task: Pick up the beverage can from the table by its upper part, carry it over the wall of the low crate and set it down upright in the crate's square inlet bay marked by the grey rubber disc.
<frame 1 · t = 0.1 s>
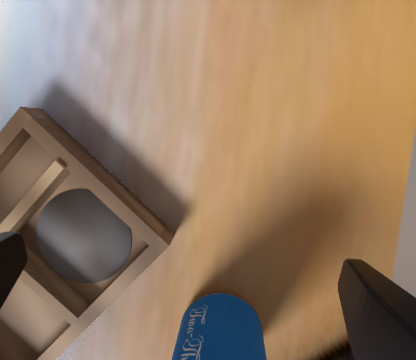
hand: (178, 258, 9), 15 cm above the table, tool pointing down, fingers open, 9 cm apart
beverage can: (221, 323, 26), on the table
crate: (39, 249, 26), on the table
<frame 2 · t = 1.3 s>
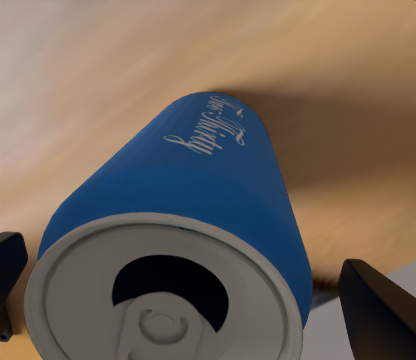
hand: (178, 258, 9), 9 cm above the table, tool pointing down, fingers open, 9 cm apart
beverage can: (210, 149, 17), on the table
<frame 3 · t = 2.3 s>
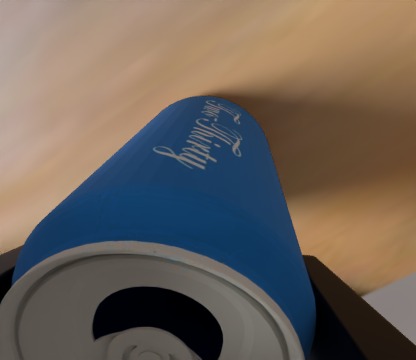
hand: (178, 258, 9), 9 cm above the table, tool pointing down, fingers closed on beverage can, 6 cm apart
beverage can: (206, 155, 17), on the table, touching gripper
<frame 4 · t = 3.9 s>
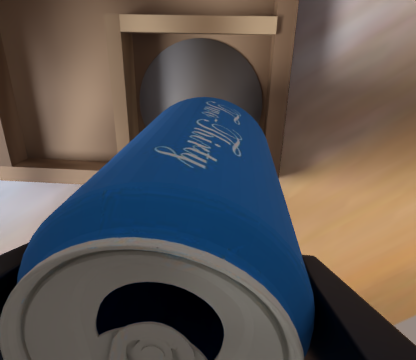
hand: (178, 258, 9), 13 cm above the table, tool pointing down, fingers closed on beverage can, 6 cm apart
beverage can: (206, 155, 17), point 4 cm above the table, touching gripper
crate: (138, 68, 20), on the table
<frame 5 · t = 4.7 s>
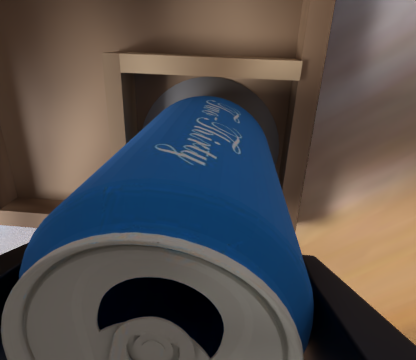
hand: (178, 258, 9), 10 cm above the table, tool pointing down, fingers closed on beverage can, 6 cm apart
beverage can: (207, 154, 17), point 1 cm above the table, touching gripper
crate: (140, 105, 18), on the table
when the fingers open (10 cm above the table, at t = 5.4 s): beverage can stays where it is, resting on crate.
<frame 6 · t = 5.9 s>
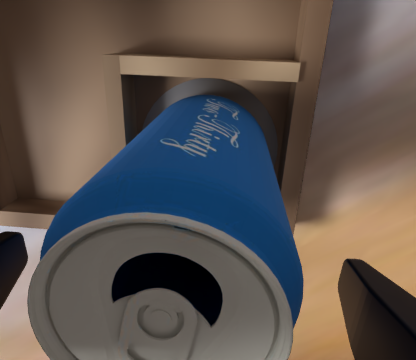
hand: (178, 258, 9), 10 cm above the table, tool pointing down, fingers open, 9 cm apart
beverage can: (207, 150, 18), point 1 cm above the table, touching crate
crate: (140, 106, 18), on the table
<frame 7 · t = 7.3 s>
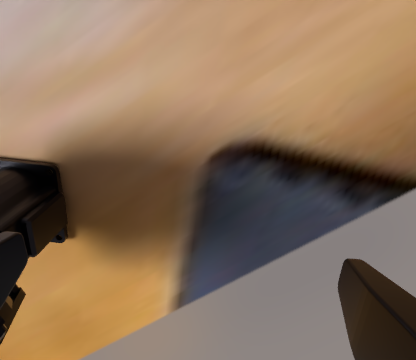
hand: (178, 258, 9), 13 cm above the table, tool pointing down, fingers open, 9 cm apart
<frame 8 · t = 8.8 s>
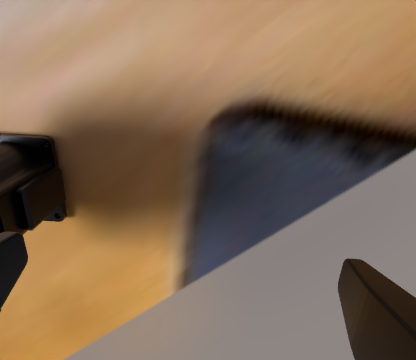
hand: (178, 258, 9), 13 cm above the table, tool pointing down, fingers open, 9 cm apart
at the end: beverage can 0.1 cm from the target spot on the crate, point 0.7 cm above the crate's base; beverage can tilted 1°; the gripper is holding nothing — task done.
